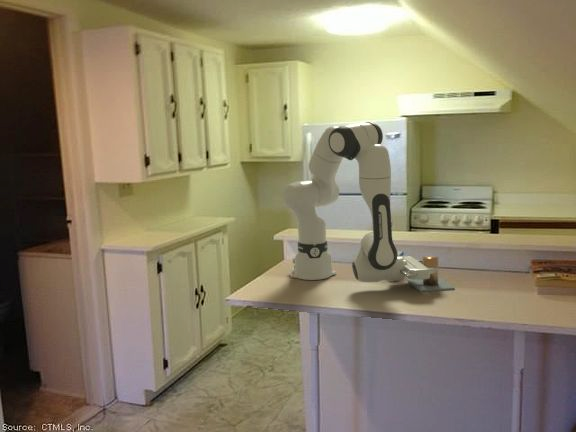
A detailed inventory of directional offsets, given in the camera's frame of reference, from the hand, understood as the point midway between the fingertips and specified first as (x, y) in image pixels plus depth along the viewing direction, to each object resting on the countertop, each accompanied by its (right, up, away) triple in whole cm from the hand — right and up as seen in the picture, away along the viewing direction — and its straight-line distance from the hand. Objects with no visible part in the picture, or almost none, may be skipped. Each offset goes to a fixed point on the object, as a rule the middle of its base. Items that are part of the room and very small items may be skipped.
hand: (433, 266), depth 193 cm
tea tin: (-1, -7, +1) cm, 7 cm away
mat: (-1, -7, +1) cm, 7 cm away
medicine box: (-10, -5, +18) cm, 21 cm away
